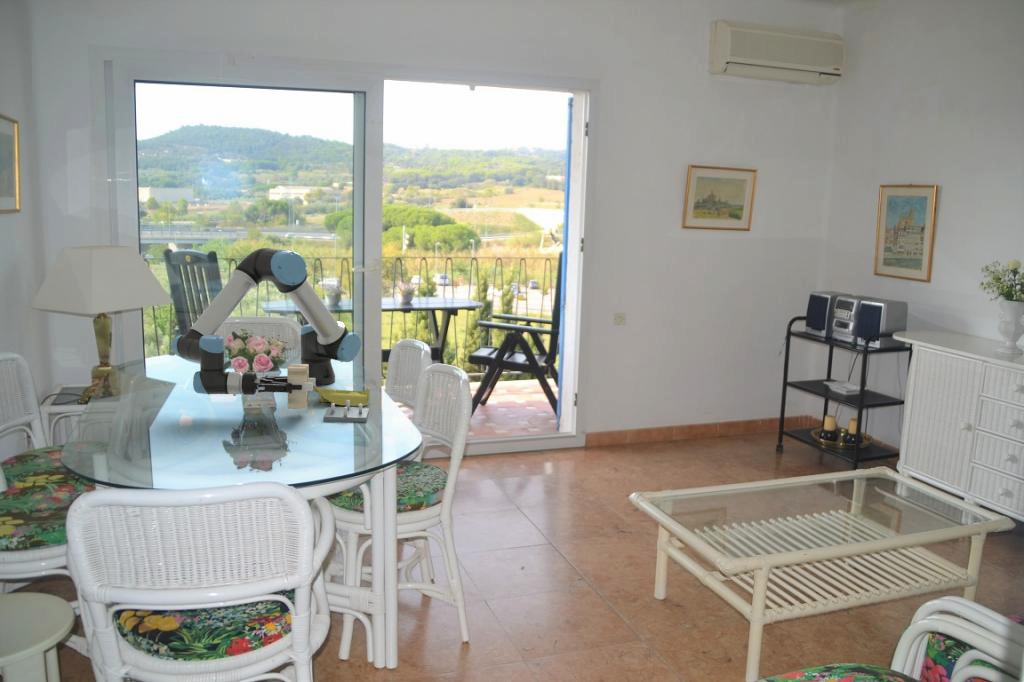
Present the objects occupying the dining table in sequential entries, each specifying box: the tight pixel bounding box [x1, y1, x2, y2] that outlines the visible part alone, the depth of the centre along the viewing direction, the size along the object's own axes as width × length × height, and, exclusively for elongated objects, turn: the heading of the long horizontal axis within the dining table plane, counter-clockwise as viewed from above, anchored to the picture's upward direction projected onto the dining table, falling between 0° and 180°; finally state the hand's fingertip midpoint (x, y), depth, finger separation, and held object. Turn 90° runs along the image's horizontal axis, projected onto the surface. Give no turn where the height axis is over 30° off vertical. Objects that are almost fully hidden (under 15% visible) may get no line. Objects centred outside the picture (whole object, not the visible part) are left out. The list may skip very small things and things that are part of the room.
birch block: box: [286, 363, 310, 410], centre depth 274 cm, size 6×6×14 cm
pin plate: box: [323, 400, 370, 423], centre depth 277 cm, size 12×14×4 cm
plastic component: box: [313, 385, 371, 407], centre depth 295 cm, size 20×7×10 cm
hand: (313, 384), depth 274 cm, fingers closed on birch block, 6 cm apart
